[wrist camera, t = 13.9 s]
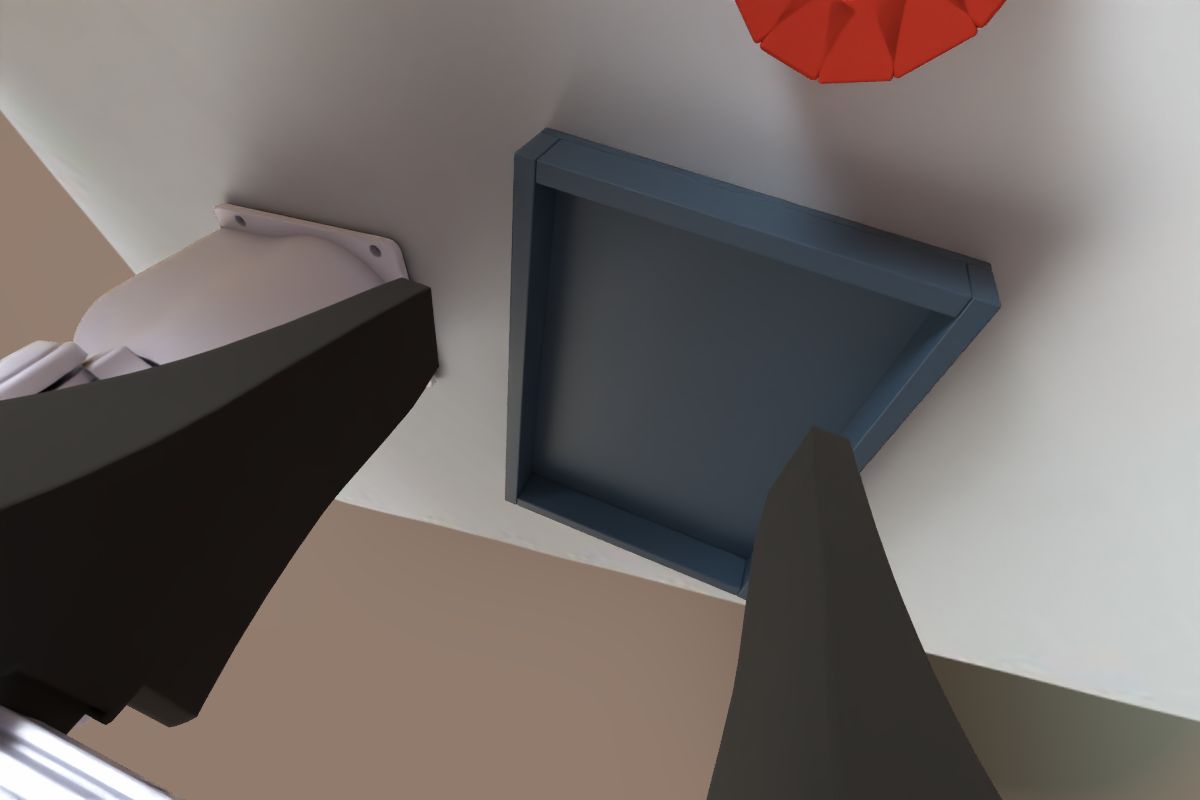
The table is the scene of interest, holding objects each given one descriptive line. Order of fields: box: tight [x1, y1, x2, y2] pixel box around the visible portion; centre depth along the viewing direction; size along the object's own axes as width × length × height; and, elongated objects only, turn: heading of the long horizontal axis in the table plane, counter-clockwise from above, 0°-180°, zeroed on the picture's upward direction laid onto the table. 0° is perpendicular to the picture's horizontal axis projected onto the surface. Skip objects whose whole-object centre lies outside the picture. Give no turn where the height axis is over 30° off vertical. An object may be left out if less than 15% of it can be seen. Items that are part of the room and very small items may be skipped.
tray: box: [505, 128, 1001, 600], centre depth 22 cm, size 13×18×2 cm
